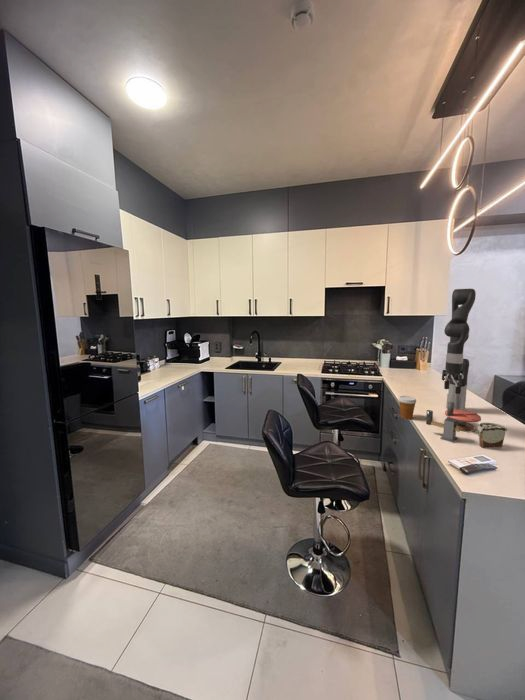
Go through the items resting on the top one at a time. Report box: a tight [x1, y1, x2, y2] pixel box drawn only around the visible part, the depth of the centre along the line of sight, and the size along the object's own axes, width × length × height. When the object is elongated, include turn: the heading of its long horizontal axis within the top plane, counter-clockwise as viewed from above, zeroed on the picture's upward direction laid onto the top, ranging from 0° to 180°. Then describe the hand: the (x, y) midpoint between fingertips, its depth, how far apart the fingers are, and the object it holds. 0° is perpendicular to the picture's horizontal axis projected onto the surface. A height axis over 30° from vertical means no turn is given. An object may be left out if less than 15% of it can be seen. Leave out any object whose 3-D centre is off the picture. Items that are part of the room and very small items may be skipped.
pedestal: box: [456, 420, 475, 432], centre depth 156 cm, size 11×11×2 cm
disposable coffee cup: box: [398, 395, 417, 420], centre depth 171 cm, size 10×10×12 cm
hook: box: [425, 409, 461, 433], centre depth 144 cm, size 15×3×7 cm, turn 42°
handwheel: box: [444, 402, 482, 425], centre depth 155 cm, size 16×16×12 cm
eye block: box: [440, 416, 459, 443], centre depth 142 cm, size 6×6×10 cm
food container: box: [477, 422, 508, 449], centre depth 136 cm, size 12×6×10 cm, turn 92°
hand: (451, 391), depth 153 cm, fingers open, 8 cm apart
